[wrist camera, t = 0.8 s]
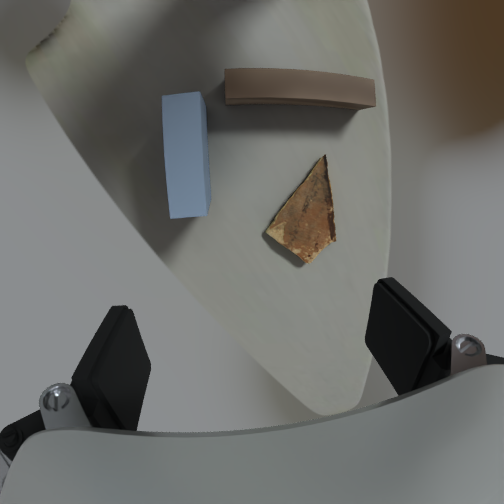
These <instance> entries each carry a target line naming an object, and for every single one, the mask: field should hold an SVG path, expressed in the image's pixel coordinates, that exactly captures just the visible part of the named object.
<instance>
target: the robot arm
mask: <svg viewBox="0 0 504 504" xmlns="http://www.w3.org/2000/svg"><path fill="white" fill-rule="evenodd" d="M450 334H451V330H450V329H448V328H447V326H445V325H444V324H443V323H442V322H441V321H440V320H439V319H438V318H437V317H436V316H435V315H434V314H433V313H432V312H431V311H430V310H429V309H427V308H426V307H425V306H424V305H423V304H422V303H421V302H420V301H419V300H418V299H417V298H415V297H414V296H413V295H412V294H411V293H410V292H409V291H408V290H407V289H405V288H404V287H403V286H402V285H401V284H400V283H399V282H397V281H396V280H395V279H394V278H392V277H390V278H383V279H379V280H378V282H377V283H376V284H375V285H374V288H373V295H372V301H371V307H370V313H369V319H368V324H367V330H366V335H365V343H366V345H367V347H368V348H369V350H370V352H371V353H372V355H373V356H374V358H375V359H376V361H377V362H378V364H379V365H380V367H381V368H382V370H383V372H384V373H385V375H386V376H387V378H388V379H389V381H390V382H391V384H392V386H393V387H394V389H395V391H396V392H397V394H398V395H399V396H397V397H394V398H391V399H388V400H385V401H382V402H379V403H376V404H372V405H369V406H366V407H362V408H359V409H355V410H352V411H347V412H343V413H339V414H335V415H331V416H327V417H322V418H318V419H313V420H308V421H302V422H297V423H292V424H285V425H278V426H271V427H264V428H255V429H245V430H234V431H219V432H190V433H189V432H187V433H186V432H185V433H184V432H183V433H182V432H146V431H137V426H138V421H139V417H140V413H141V408H142V404H143V399H144V395H145V391H146V387H147V383H148V379H149V375H150V371H151V363H150V360H149V357H148V354H147V352H146V349H145V346H144V343H143V341H142V338H141V335H140V332H139V329H138V326H137V322H136V320H135V316H134V313H133V311H132V310H131V309H128V307H127V306H126V305H123V306H112V307H111V309H110V310H109V312H108V313H107V315H106V317H105V318H104V320H103V322H102V323H101V325H100V327H99V328H98V330H97V332H96V333H95V335H94V337H93V339H92V340H91V342H90V344H89V346H88V348H87V349H86V351H85V353H84V355H83V357H82V359H81V361H80V362H79V364H78V366H77V368H76V370H75V372H74V374H73V376H72V382H71V384H70V385H68V384H65V383H57V384H54V385H51V386H50V387H48V388H47V389H46V390H45V391H44V392H43V393H42V395H41V396H40V399H39V407H40V410H38V411H36V412H34V413H32V414H30V415H28V416H26V417H24V418H22V419H20V420H18V421H16V422H14V423H12V424H10V425H8V426H6V427H5V428H4V429H3V430H2V431H1V433H0V504H504V358H502V357H498V356H494V355H489V354H486V351H485V347H484V344H483V343H482V342H481V340H479V339H478V338H477V337H474V336H473V335H469V334H459V335H457V336H455V337H454V338H453V340H451V339H450V338H449V337H450Z"/></svg>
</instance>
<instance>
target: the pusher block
mask: <svg viewBox="0 0 504 504" xmlns="http://www.w3.org/2000/svg"><path fill="white" fill-rule="evenodd" d="M162 120H163V141H164V157H165V170H166V182H167V193H168V203H169V212H170V219H173V218H185V217H197V216H207V214H208V210H209V206H210V202H211V188H210V172H209V155H208V136H207V112H206V105H205V102H204V100H203V97H202V95H201V93H200V91H199V92H189V93H180V94H173V95H165V96H162Z"/></svg>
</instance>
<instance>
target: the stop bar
mask: <svg viewBox="0 0 504 504" xmlns="http://www.w3.org/2000/svg"><path fill="white" fill-rule="evenodd" d="M225 104H226V105H245V104H289V105H311V106H325V107H337V108H346V109H355V110H361V109H366V108H370V107H375V106H376V97H375V83H374V80H373V79H367V78H362V77H356V76H350V75H343V74H336V73H328V72H319V71H309V70H296V69H275V68H238V69H225Z"/></svg>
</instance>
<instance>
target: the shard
mask: <svg viewBox="0 0 504 504" xmlns="http://www.w3.org/2000/svg"><path fill="white" fill-rule="evenodd" d="M327 164H328V163H327V159H326V154H325V155H324V156H323V157H322V158H320V159H319V160H318V162H317V164H316V165H315V166H314V167H313V169H312V171H311V173H310V174H309V176H308V178H307V179H306V180H305V182H304V183H303V184H302V185H301V186H300V187H298V188H297V190H296V191H295V192H294V194H293V195H292V197H291V198H290V199H289V200H288V201H287V202H286V204H285V205H284V207H283V208H282V209H281V210H280V211H279V212H278V213H277V215H276V217H275V218H274V221H273V222H272V223H271V224H270V225H269V227H268V228H267V230H266V233H267V234H268V235H270V236H271V237H273V238H274V239H275V240H276V241H277V242H278V243H280V244H281V245H283V246H284V247H286V248H287V249H289V250H291V251H292V252H293V253H294V254H296V255H297V256H299V257H300V258H301V259H302V261H304V262H305V263H308V264H310V263H311V262H312V261H313V260H314V259H315V257H316V256H317V255H318V254H319V253H320V251H322V250H323V249H324V248H325V247H326V246H327V245H329V244H330V243H331V242H335V241H336V233H335V223H334V210H333V199H332V191H331V185H330V180H329V177H328V169H327V166H328V165H327Z"/></svg>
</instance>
